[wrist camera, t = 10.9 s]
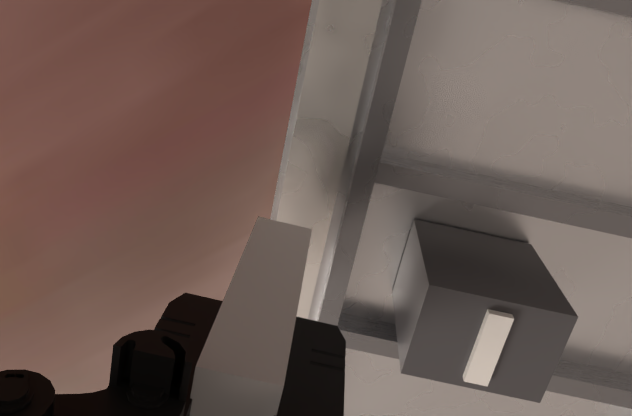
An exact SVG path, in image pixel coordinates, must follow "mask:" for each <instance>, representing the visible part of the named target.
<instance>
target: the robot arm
mask: <svg viewBox="0 0 632 416" xmlns="http://www.w3.org/2000/svg"><path fill="white" fill-rule="evenodd" d="M311 232H312V229H309V228H305V227H301V226H297V225H292V224H288V223H284V222H279V221H275V220H271V219H266V218H262V217H258V218H257V221H256V223H255V226H254V228H253V230H252V233H251V235H250V238H249V240H248V242H247V245H246V247H245V249H244V252H243V254H242V257H241V259H240V261H239V264H238V266H237V269H236V271H235V273H234V276H233V278H232V281H231V283H230V285H229V288H228V290H227V293H226V295H225V297H224V300H223V301H219V300H215V299H211V298H206V297H202V296H197V295H193V294H189V293H184V294H183V295H181V296H179V297H178V298H176V299H174V300H173V301H171V302H170V303H169V304H168V306H167V308H166V309H165V311H164V313H163V315H162V317H161V319H160V320H159V321H158V323H157V325H156V327H155V330H145V331H137V332H133V333H131V334H128V335H126V336H124V337H122V338H121V339H120V340H119V341H117V342H116V343H115V344H114V345H113V354H112V363H111V372H110V382H109V386H108V388H107V389H105V390H101V391H97V392H93V393H84V394H55V389H54V387H53V385H52V383H51V381H50V380H48V379H47V378H46V377H44V376H43V375H41V374H40V373H36V372H32V371H28V370H5V371H1V372H0V416H344V390H345V356H346V340H345V338H344V337H343V335H342V333H341V331H340V330H339V328H338V326H336V325H332V324H327V323H323V322H318V321H314V320H310V319H305V318H301V317H297V310H298V305H299V299H300V293H301V288H302V282H303V277H304V271H305V266H306V260H307V254H308V249H309V243H310V238H311Z"/></svg>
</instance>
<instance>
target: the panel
mask: <svg viewBox="0 0 632 416" xmlns="http://www.w3.org/2000/svg"><path fill="white" fill-rule="evenodd" d="M270 219H271V220H275V221H279V222H284V223H288V224H292V225H297V226H301V227H305V228H309V229H312V232H311V238H310V243H309V249H308V254H307V260H306V266H305V271H304V277H303V282H302V288H301V293H300V299H299V305H298V310H297V317H301V318H305V319H310V320H314V321H318V322H323V323H327V324H332V325H336V326H338V328H339V330H340V331H341V333H342V335H343V337H344V338H345V340H346V356H345V390H344V416H632V0H312V4H311V9H310V14H309V19H308V25H307V30H306V35H305V40H304V45H303V51H302V56H301V61H300V66H299V72H298V77H297V82H296V87H295V93H294V98H293V103H292V108H291V114H290V119H289V124H288V129H287V135H286V140H285V145H284V150H283V155H282V161H281V166H280V171H279V176H278V182H277V187H276V192H275V197H274V203H273V208H272V213H271V218H270ZM414 219H417V220H421V221H426V222H431V223H435V224H440V225H444V226H449V227H454V228H458V229H463V230H467V231H472V232H477V233H481V234H486V235H491V236H495V237H500V238H504V239H509V240H514V241H518V242H523V243H527V244H531V245H532V246H533V248H534V249H535V251H536V252H537V254H538V256H539V257H540V259H541V260H542V262H543V263H544V265H545V266H546V268H547V269H548V271H549V272H550V274H551V276H552V277H553V279H554V280H555V282H556V283H557V285H558V286H559V288H560V289H561V291H562V292H563V294H564V296H565V297H566V299H567V300H568V302H569V303H570V305H571V306H572V308H573V309H574V311H575V312H576V314H577V316H578V319H577V321H576V324H575V326H574V328H573V330H572V333H571V335H570V337H569V339H568V342H567V344H566V346H565V348H564V351H563V353H562V355H561V357H560V360H559V362H558V364H557V366H556V369H555V371H554V373H553V375H552V378H551V380H550V382H549V384H548V387H547V389H546V391H545V393H544V396H543V398H542V400H541V402H540V403H537V402H533V401H528V400H523V399H519V398H514V397H509V396H504V395H500V394H495V393H490V392H486V391H481V390H476V389H472V388H467V387H462V386H457V385H453V384H448V383H443V382H439V381H434V380H429V379H425V378H420V377H415V376H411V375H406V374H401V371H400V362H399V353H398V343H397V334H396V325H395V316H394V306H393V297H392V291H393V288H394V285H395V281H396V278H397V274H398V271H399V268H400V264H401V261H402V257H403V254H404V251H405V247H406V244H407V240H408V237H409V234H410V230H411V227H412V223H413V220H414Z"/></svg>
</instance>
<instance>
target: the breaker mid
mask: <svg viewBox="0 0 632 416" xmlns="http://www.w3.org/2000/svg"><path fill="white" fill-rule="evenodd" d="M392 297H393V306H394V316H395V325H396V334H397V343H398V353H399V362H400V371H401V374H406V375H411V376H415V377H420V378H425V379H429V380H434V381H439V382H443V383H448V384H453V385H457V386H462V387H467V388H472V389H476V390H481V391H486V392H490V393H495V394H500V395H504V396H509V397H514V398H519V399H523V400H528V401H533V402H537V403H540V402H541V400H542V398H543V396H544V393H545V391H546V389H547V387H548V384H549V382H550V380H551V378H552V375H553V373H554V371H555V369H556V366H557V364H558V362H559V360H560V357H561V355H562V353H563V351H564V348H565V346H566V344H567V342H568V339H569V337H570V335H571V333H572V330H573V328H574V326H575V324H576V321H577V319H578V316H577V314H576V312H575V311H574V309H573V308H572V306H571V305H570V303H569V302H568V300H567V299H566V297H565V296H564V294H563V292H562V291H561V289H560V288H559V286H558V285H557V283H556V282H555V280H554V279H553V277H552V276H551V274H550V272H549V271H548V269H547V268H546V266H545V265H544V263H543V262H542V260H541V259H540V257H539V256H538V254H537V252H536V251H535V249H534V248H533V246H532V245H531V244H527V243H523V242H518V241H514V240H509V239H504V238H500V237H495V236H491V235H486V234H481V233H477V232H472V231H467V230H463V229H458V228H454V227H449V226H444V225H440V224H435V223H431V222H426V221H421V220H417V219H414V220H413V223H412V227H411V230H410V234H409V237H408V240H407V244H406V247H405V251H404V254H403V257H402V261H401V264H400V268H399V271H398V274H397V278H396V281H395V285H394V288H393V291H392Z"/></svg>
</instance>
